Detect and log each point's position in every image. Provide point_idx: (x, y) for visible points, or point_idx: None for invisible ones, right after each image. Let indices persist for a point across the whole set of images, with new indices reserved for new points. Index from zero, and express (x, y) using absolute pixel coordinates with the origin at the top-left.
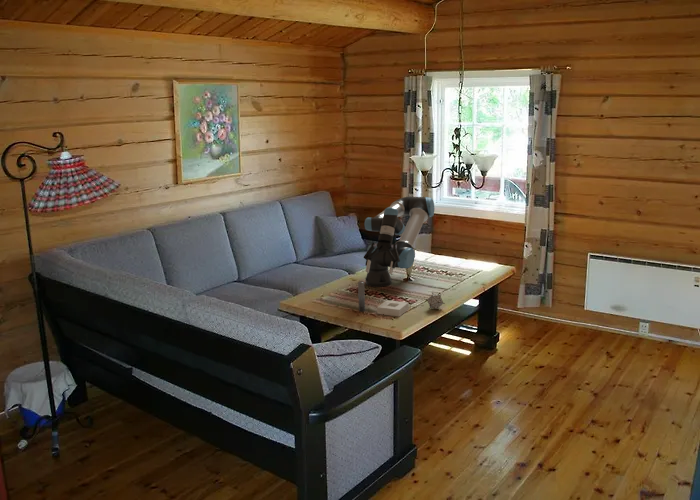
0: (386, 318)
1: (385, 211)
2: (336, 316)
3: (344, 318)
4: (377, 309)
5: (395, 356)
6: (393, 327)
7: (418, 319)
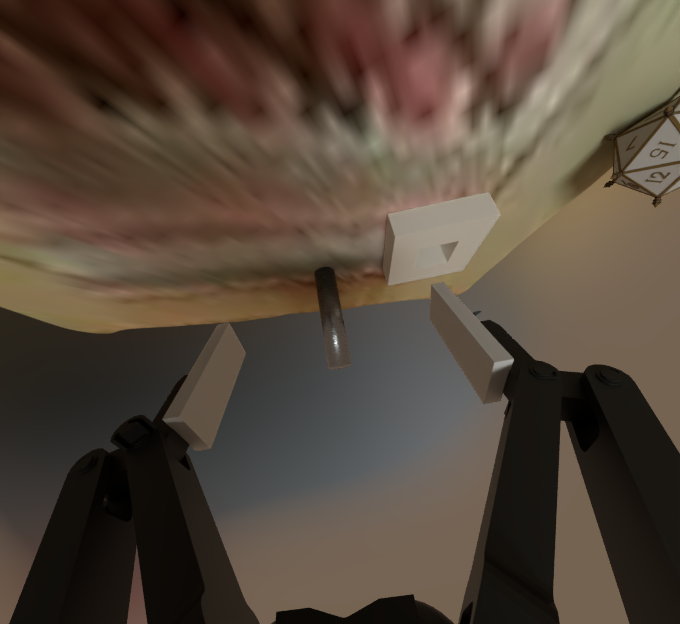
0: None
1: None
2: (296, 311)
3: None
4: (386, 279)
5: None
6: None
7: (515, 241)
